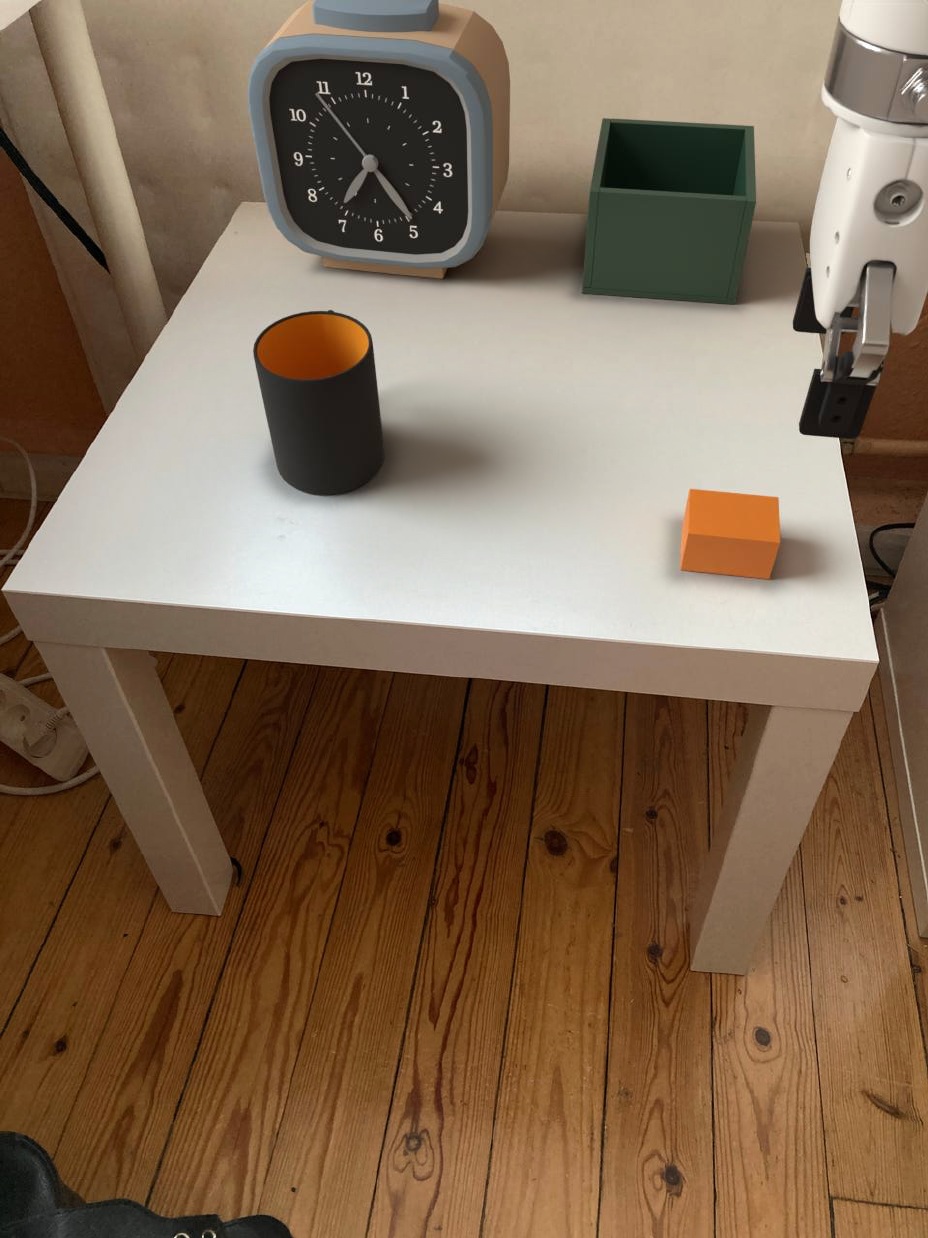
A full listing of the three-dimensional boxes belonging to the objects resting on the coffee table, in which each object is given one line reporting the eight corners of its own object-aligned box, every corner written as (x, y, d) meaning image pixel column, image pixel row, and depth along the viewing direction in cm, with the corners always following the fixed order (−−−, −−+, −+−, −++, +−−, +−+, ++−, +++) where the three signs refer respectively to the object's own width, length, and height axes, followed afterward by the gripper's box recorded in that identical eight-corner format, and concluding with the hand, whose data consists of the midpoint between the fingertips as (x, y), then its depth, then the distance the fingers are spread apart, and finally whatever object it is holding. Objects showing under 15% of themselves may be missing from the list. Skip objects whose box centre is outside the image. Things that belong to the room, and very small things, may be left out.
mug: (395, 395, 83) (385, 282, 76) (377, 497, 76) (364, 382, 68) (295, 393, 84) (274, 280, 76) (267, 493, 76) (241, 379, 68)
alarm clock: (274, 267, 96) (229, 16, 80) (305, 216, 102) (269, -28, 86) (488, 289, 93) (488, 33, 77) (508, 235, 99) (511, -14, 82)
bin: (734, 225, 99) (754, 125, 92) (735, 304, 91) (756, 201, 83) (594, 216, 101) (602, 117, 94) (581, 293, 92) (589, 190, 85)
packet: (682, 525, 73) (689, 488, 70) (767, 533, 73) (778, 496, 70) (680, 570, 70) (687, 533, 68) (769, 579, 70) (780, 542, 67)
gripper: (1037, 163, 40) (905, 486, 53) (973, -2, 51) (876, 300, 64) (840, 153, 41) (758, 473, 54) (818, -7, 52) (754, 292, 65)
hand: (822, 379), depth 59 cm, fingers open, 9 cm apart
